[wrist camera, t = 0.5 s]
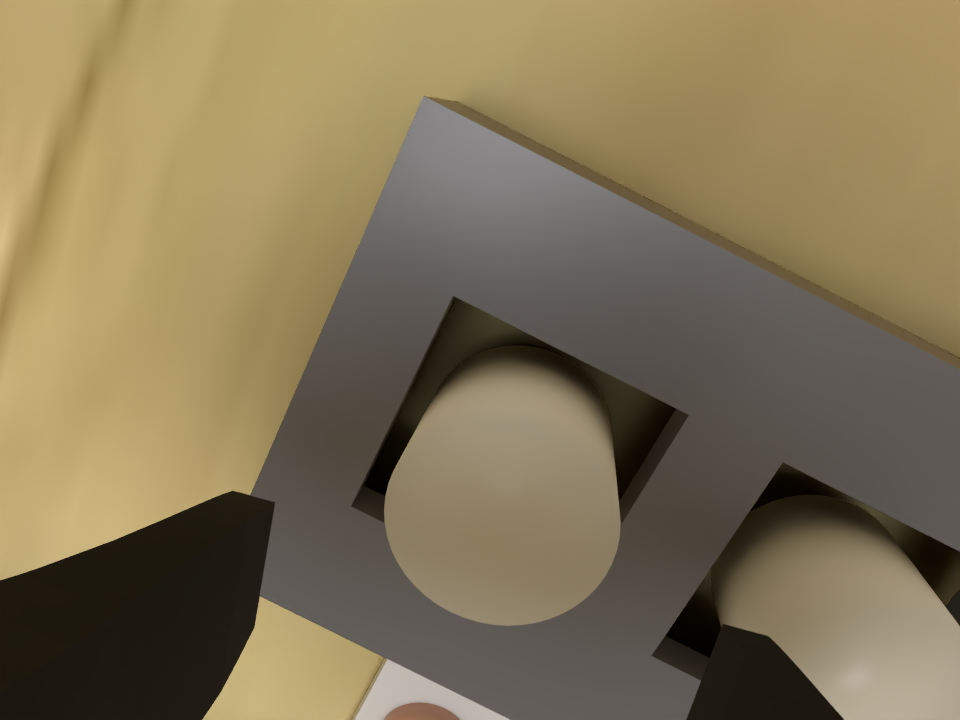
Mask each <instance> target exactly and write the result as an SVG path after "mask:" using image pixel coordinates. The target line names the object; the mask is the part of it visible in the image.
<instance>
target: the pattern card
mask: <svg viewBox="0 0 960 720" xmlns="http://www.w3.org/2000/svg"><path fill="white" fill-rule="evenodd" d="M352 720H510V719H508V718H506V717H504V716H502V715H500V714H498V713H496V712H494V711H492V710H490V709H488V708H485V707H483V706H481V705H479V704H477V703H475V702H473V701H471V700H469V699H467V698H465V697H463V696H461V695H459V694H457V693H455V692H453V691H451V690H449V689H447V688H445V687H443V686H441V685H439V684H437V683H435V682H433V681H431V680H429V679H427V678H425V677H423V676H421V675H419V674H417V673H415V672H413V671H411V670H409V669H407V668H405V667H403V666H401V665H398V664H396V663H394V662H392V661H390V660H388V659H386V658H385V659H384V660H383V662H382V664H381V666H380V668H379V670H378V671H377V673H376V675H375V677H374V679H373V681H372V683H371V684H370V686H369V688H368V690H367V692H366V694H365V696H364V697H363V699H362V701H361V703H360V705H359V707H358V708H357V710H356V712H355V714H354V716H353V718H352Z"/></svg>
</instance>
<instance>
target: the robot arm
mask: <svg viewBox="0 0 960 720" xmlns="http://www.w3.org/2000/svg"><path fill="white" fill-rule="evenodd" d="M274 507H275V502H272V501H269V500H265V499H261V498H257V497H254V496H250V495H246V494H243V493H239V492H235V491H231V492H228V493H225V494H222V495H220V496H217V497H215V498H212V499H210V500H208V501H205V502H203V503H201V504H198V505H196V506H194V507H191V508H189V509H187V510H184V511H182V512H180V513H178V514H175V515H173V516H171V517H168V518H166V519H164V520H161V521H159V522H157V523H154V524H152V525H149V526H147V527H145V528H142V529H140V530H137V531H135V532H133V533H130V534H128V535H126V536H123V537H121V538H118V539H116V540H114V541H111V542H108V543H106V544H103V545H100V546H98V547H95V548H92V549H89V550H87V551H84V552H81V553H79V554H76V555H73V556H70V557H68V558H65V559H62V560H60V561H57V562H54V563H52V564H49V565H46V566H43V567H41V568H38V569H35V570H32V571H29V572H26V573H23V574H20V575H17V576H13V577H10V578H7V579H4V580H0V720H202V719H203V718H204V716H205V715H206V713H207V712H208V710H209V709H210V707H211V706H212V704H213V703H214V701H215V700H216V698H217V697H218V695H219V694H220V692H221V691H222V689H223V687H224V685H225V683H226V681H227V679H228V678H229V676H230V674H231V672H232V670H233V668H234V666H235V664H236V663H237V661H238V659H239V657H240V655H241V653H242V651H243V649H244V647H245V645H246V643H247V641H248V639H249V637H250V635H251V633H252V631H253V629H254V626H255V620H256V614H257V608H258V602H259V596H260V590H261V584H262V578H263V572H264V566H265V560H266V555H267V549H268V543H269V537H270V531H271V525H272V519H273V513H274ZM686 720H844V719H843V718H842V716H841V715H840V714H839V713H838V712H837V711H836V710H835V709H834V707H833V706H832V705H831V704H830V703H829V702H828V701H827V699H826V698H825V697H824V696H823V695H822V694H821V693H820V691H819V690H818V689H817V688H816V687H815V686H814V684H813V683H812V682H811V681H810V680H809V679H808V678H807V676H806V675H805V674H804V673H803V672H802V671H801V670H800V669H799V667H798V666H797V665H796V664H795V663H794V662H793V661H792V660H791V659H790V657H789V656H788V655H787V654H786V653H785V652H784V651H783V650H782V649H781V648H780V647H779V646H778V645H777V644H776V643H775V642H774V641H773V640H772V639H771V638H770V637H769V636H766V635H763V634H759V633H755V632H752V631H748V630H744V629H741V628H737V627H733V626H729V625H726V624H723V625H722V627H721V630H720V633H719V635H718V638H717V640H716V643H715V646H714V648H713V651H712V654H711V656H710V659H709V661H708V664H707V667H706V669H705V672H704V674H703V677H702V680H701V682H700V685H699V688H698V690H697V693H696V695H695V698H694V701H693V703H692V706H691V708H690V711H689V714H688V716H687V719H686Z"/></svg>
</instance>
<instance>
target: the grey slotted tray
mask: <svg viewBox="0 0 960 720" xmlns="http://www.w3.org/2000/svg"><path fill="white" fill-rule="evenodd" d="M455 297H456V298H458V299H460V300H462V301H464V302H466V303H468V304H470V305H472V306H474V307H476V308H478V309H480V310H482V311H484V312H486V313H488V314H490V315H492V316H494V317H496V318H498V319H500V320H502V321H504V322H506V323H508V324H510V325H512V326H514V327H516V328H518V329H520V330H522V331H524V332H526V333H528V334H530V335H532V336H533V337H535V338H537V339H539V340H541V341H543V342H545V343H547V344H549V345H551V346H553V347H555V348H557V349H559V350H561V351H563V352H565V353H567V354H569V355H571V356H573V357H575V358H577V359H579V360H581V361H583V362H585V363H587V364H589V365H591V366H593V367H595V368H597V369H599V370H601V371H603V372H605V373H607V374H609V375H611V376H613V377H615V378H617V379H619V380H621V381H623V382H625V383H627V384H629V385H631V386H633V387H635V388H637V389H639V390H640V391H642V392H644V393H646V394H648V395H650V396H652V397H654V398H656V399H658V400H660V401H662V402H664V403H666V404H668V405H670V406H672V407H674V408H676V410H675V411H674V413H673V415H672V416H671V418H670V420H669V421H668V423H667V424H666V426H665V428H664V429H663V431H662V433H661V434H660V436H659V438H658V439H657V441H656V442H655V444H654V446H653V447H652V449H651V451H650V452H649V454H648V455H647V457H646V459H645V460H644V462H643V464H642V465H641V467H640V469H639V470H638V472H637V473H636V475H635V477H634V478H633V480H632V482H631V483H630V485H629V486H628V488H627V490H626V491H625V493H624V495H623V496H622V498H621V500H620V501H619V510H620V521H621V524H620V538H619V543H618V548H617V552H616V555H615V558H614V560H613V563H612V565H611V567H610V569H609V571H608V573H607V574H606V576H605V577H604V579H603V580H602V582H601V583H600V584H599V586H598V587H597V588H596V589H595V590H594V591H593V592H592V593H591V594H590V595H589V596H588V597H587V598H586V599H584V600H583V601H582V602H581V603H579V604H578V605H577V606H575V607H573V608H572V609H570V610H568V611H567V612H565V613H563V614H561V615H558V616H556V617H554V618H551V619H548V620H544V621H541V622H537V623H532V624H526V625H513V626H504V625H491V624H486V623H481V622H476V621H473V620H470V619H466V618H463V617H461V616H459V615H456V614H454V613H452V612H449V611H448V610H446V609H444V608H442V607H441V606H439V605H437V604H436V603H434V602H433V601H432V600H430V599H429V598H428V597H426V596H425V595H424V594H423V593H422V592H421V591H420V590H419V589H417V588H416V587H415V586H414V584H413V583H412V582H411V581H410V580H409V579H408V577H407V576H406V575H405V573H404V572H403V570H402V569H401V567H400V566H399V564H398V563H397V561H396V558H395V556H394V554H393V552H392V550H391V547H390V544H389V541H388V538H387V533H386V528H385V520H384V505H385V496H383V495H381V494H379V493H377V492H375V491H373V490H371V489H369V488H367V487H365V486H364V484H365V482H366V479H367V477H368V475H369V473H370V471H371V469H372V467H373V465H374V463H375V461H376V459H377V457H378V455H379V453H380V451H381V449H382V447H383V445H384V442H385V440H386V438H387V436H388V434H389V432H390V430H391V428H392V426H393V424H394V422H395V420H396V418H397V416H398V414H399V412H400V410H401V407H402V405H403V403H404V401H405V399H406V397H407V395H408V393H409V391H410V389H411V387H412V385H413V383H414V381H415V379H416V377H417V375H418V372H419V370H420V368H421V366H422V364H423V362H424V360H425V358H426V356H427V354H428V352H429V350H430V348H431V346H432V344H433V342H434V340H435V338H436V335H437V333H438V331H439V329H440V327H441V325H442V323H443V321H444V319H445V317H446V315H447V313H448V311H449V309H450V307H451V305H452V303H453V300H454V298H455ZM782 463H785V464H787V465H789V466H791V467H793V468H795V469H797V470H799V471H801V472H803V473H805V474H807V475H809V476H811V477H813V478H815V479H817V480H819V481H821V482H823V483H825V484H827V485H829V486H831V487H833V488H835V489H837V490H839V491H841V492H843V493H845V494H847V495H849V496H851V497H852V498H854V499H856V500H858V501H860V502H862V503H864V504H866V505H868V506H870V507H872V508H874V509H876V510H878V511H880V512H882V513H884V514H886V515H888V516H890V517H892V518H894V519H896V520H898V521H900V522H902V523H904V524H906V525H908V526H910V527H912V528H914V529H916V530H918V531H920V532H922V533H924V534H926V535H928V536H930V537H932V538H934V539H936V540H938V541H940V542H942V543H944V544H946V545H948V546H950V547H952V548H954V549H956V550H958V551H959V552H960V358H959V357H957V356H955V355H953V354H951V353H949V352H947V351H945V350H943V349H941V348H939V347H937V346H935V345H933V344H931V343H929V342H927V341H925V340H923V339H922V338H920V337H918V336H916V335H914V334H912V333H910V332H908V331H906V330H904V329H902V328H900V327H898V326H896V325H894V324H892V323H890V322H888V321H886V320H884V319H882V318H880V317H878V316H876V315H874V314H873V313H871V312H869V311H867V310H865V309H863V308H861V307H859V306H857V305H855V304H853V303H851V302H849V301H847V300H845V299H843V298H841V297H839V296H837V295H835V294H833V293H831V292H829V291H827V290H825V289H823V288H822V287H820V286H818V285H816V284H814V283H812V282H810V281H808V280H806V279H804V278H802V277H800V276H798V275H796V274H794V273H792V272H790V271H788V270H786V269H784V268H782V267H780V266H778V265H776V264H774V263H772V262H771V261H769V260H767V259H765V258H763V257H761V256H759V255H757V254H755V253H753V252H751V251H749V250H747V249H745V248H743V247H741V246H739V245H737V244H735V243H733V242H731V241H729V240H727V239H725V238H723V237H722V236H720V235H718V234H716V233H714V232H712V231H710V230H708V229H706V228H704V227H702V226H700V225H698V224H696V223H694V222H692V221H690V220H688V219H686V218H684V217H682V216H680V215H678V214H676V213H674V212H672V211H671V210H669V209H667V208H665V207H663V206H661V205H659V204H657V203H655V202H653V201H651V200H649V199H647V198H645V197H643V196H641V195H639V194H637V193H635V192H633V191H631V190H629V189H627V188H625V187H623V186H621V185H620V184H618V183H616V182H614V181H612V180H610V179H608V178H606V177H604V176H602V175H600V174H598V173H596V172H594V171H592V170H590V169H588V168H586V167H584V166H582V165H580V164H578V163H576V162H574V161H572V160H571V159H569V158H567V157H565V156H563V155H561V154H559V153H557V152H555V151H553V150H551V149H549V148H547V147H545V146H543V145H541V144H539V143H537V142H535V141H533V140H531V139H529V138H527V137H525V136H523V135H521V134H520V133H518V132H516V131H514V130H512V129H510V128H508V127H506V126H504V125H502V124H500V123H498V122H496V121H494V120H492V119H490V118H488V117H486V116H484V115H482V114H480V113H478V112H476V111H474V110H472V109H471V108H469V107H467V106H465V105H463V104H461V103H459V102H456V101H450V100H444V99H438V98H432V97H426V96H423V99H422V101H421V103H420V106H419V108H418V110H417V112H416V115H415V117H414V119H413V122H412V124H411V126H410V129H409V131H408V133H407V135H406V138H405V140H404V142H403V145H402V147H401V149H400V152H399V154H398V156H397V159H396V161H395V163H394V165H393V168H392V170H391V172H390V175H389V177H388V179H387V182H386V184H385V186H384V188H383V191H382V193H381V195H380V198H379V200H378V202H377V205H376V207H375V209H374V212H373V214H372V216H371V218H370V221H369V223H368V225H367V228H366V230H365V232H364V235H363V237H362V239H361V241H360V244H359V246H358V248H357V251H356V253H355V255H354V258H353V260H352V262H351V265H350V267H349V269H348V271H347V274H346V276H345V278H344V281H343V283H342V285H341V288H340V290H339V292H338V294H337V297H336V299H335V301H334V304H333V306H332V308H331V311H330V313H329V315H328V318H327V320H326V322H325V324H324V327H323V329H322V331H321V334H320V336H319V338H318V341H317V343H316V345H315V347H314V350H313V352H312V354H311V357H310V359H309V361H308V364H307V366H306V368H305V371H304V373H303V375H302V377H301V380H300V382H299V384H298V387H297V389H296V391H295V394H294V396H293V398H292V400H291V403H290V405H289V407H288V410H287V412H286V414H285V417H284V419H283V421H282V424H281V426H280V428H279V430H278V433H277V435H276V437H275V440H274V442H273V444H272V447H271V449H270V451H269V453H268V456H267V458H266V460H265V463H264V465H263V467H262V470H261V472H260V474H259V477H258V479H257V481H256V483H255V486H254V488H253V490H252V493H251V495H250V496H254V497H257V498H261V499H265V500H269V501H272V502H275V507H274V513H273V519H272V525H271V531H270V537H269V543H268V549H267V555H266V560H265V566H264V572H263V578H262V584H261V590H260V596H261V597H263V598H265V599H267V600H269V601H271V602H273V603H275V604H277V605H279V606H281V607H283V608H285V609H287V610H289V611H291V612H293V613H295V614H297V615H299V616H301V617H303V618H305V619H307V620H309V621H311V622H313V623H316V624H318V625H320V626H322V627H324V628H326V629H328V630H330V631H332V632H334V633H336V634H338V635H340V636H342V637H344V638H346V639H348V640H350V641H352V642H354V643H356V644H358V645H360V646H362V647H364V648H366V649H368V650H370V651H372V652H374V653H376V654H378V655H380V656H382V657H384V658H386V659H388V660H390V661H392V662H394V663H396V664H398V665H401V666H403V667H405V668H407V669H409V670H411V671H413V672H415V673H417V674H419V675H421V676H423V677H425V678H427V679H429V680H431V681H433V682H435V683H437V684H439V685H441V686H443V687H445V688H447V689H449V690H451V691H453V692H455V693H457V694H459V695H461V696H463V697H465V698H467V699H469V700H471V701H473V702H475V703H477V704H479V705H481V706H483V707H485V708H488V709H490V710H492V711H494V712H496V713H498V714H500V715H502V716H504V717H506V718H508V719H510V720H686V719H687V716H688V714H689V711H690V708H691V706H692V703H693V701H694V698H695V695H696V693H697V690H698V688H699V685H700V682H701V680H702V677H703V674H704V672H705V669H706V667H707V664H708V661H709V659H710V658H708V657H706V656H704V655H702V654H700V653H698V652H696V651H694V650H692V649H690V648H688V647H686V646H684V645H682V644H680V643H678V642H676V641H674V640H672V639H670V638H668V637H666V636H665V635H666V634H667V632H668V631H669V629H670V628H671V626H672V625H673V623H674V622H675V620H676V619H677V617H678V616H679V614H680V613H681V612H682V610H683V609H684V607H685V606H686V604H687V603H688V601H689V600H690V598H691V597H692V595H693V594H694V592H695V591H696V589H697V588H698V586H699V585H700V584H701V582H702V581H703V579H704V578H705V576H706V575H707V573H708V572H709V570H710V569H711V567H712V566H713V564H714V563H715V561H716V560H717V558H718V557H719V556H720V554H721V553H722V551H723V550H724V548H725V547H726V545H727V544H728V542H729V541H730V539H731V538H732V536H733V535H734V533H735V532H736V531H737V529H738V528H739V526H740V525H741V523H742V522H743V520H744V519H745V517H746V516H747V514H748V513H749V511H750V510H751V508H752V507H753V505H754V504H755V503H756V501H757V500H758V498H759V497H760V495H761V494H762V492H763V491H764V489H765V488H766V486H767V485H768V483H769V482H770V480H771V479H772V478H773V476H774V475H775V473H776V472H777V470H778V469H779V467H780V466H781V464H782ZM946 608H947V610H948V611H949V612H950V614H951V615H952V616H953V618H954V619H955V620H956V622H957V623H958V624H959V626H960V590H959V591H958V592H957V593H956V595H955V596H954V597H953V598H952V599H951V601H950V602H949V603H948V604H947V606H946Z"/></svg>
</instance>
